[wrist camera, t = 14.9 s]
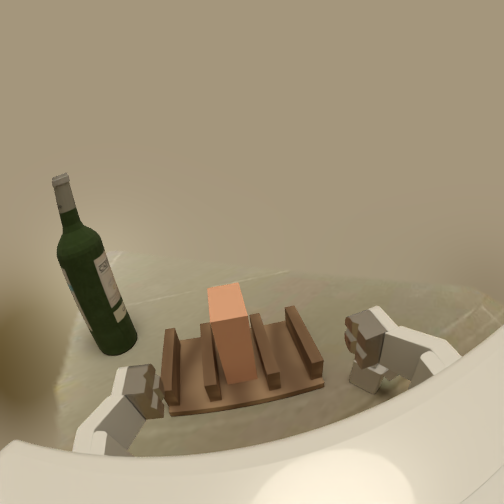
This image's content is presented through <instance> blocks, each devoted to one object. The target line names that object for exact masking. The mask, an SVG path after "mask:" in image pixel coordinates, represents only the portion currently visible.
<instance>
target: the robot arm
mask: <svg viewBox="0 0 504 504" xmlns="http://www.w3.org/2000/svg"><path fill="white" fill-rule="evenodd" d="M345 325H346V326H347V330H346V331H345V342H346V345H347V348H348V349H349V351H350V352H351V353H353V354H355V361H356V362H357V364H358V365H359V367H360V368H361V370H363V369H365V368H368V367H370V366H373V365H376V364H378V363H379V364H380V365H382V366H383V367H385V368H387V369H389V370H391V371H393V372H395V373H397V374H399V375H400V376H402V377H404V378H406V379H408V380H410V381H411V383H410V386H409V388H408V390H407V391H405V392H403V393H401V394H399V395H397V396H396V397H394V398H391V399H389V400H387V401H385V402H383V403H381V404H379V405H377V406H375V407H372V408H370V409H368V410H365V411H363V412H361V413H358V414H356V415H353V416H351V417H348V418H346V419H343V420H341V421H338V422H335V423H332V424H330V425H327V426H324V427H321V428H318V429H315V430H312V431H308V432H305V433H302V434H298V435H295V436H291V437H288V438H284V439H280V440H276V441H272V442H268V443H263V444H259V445H254V446H249V447H244V448H238V449H233V450H226V451H220V452H212V453H204V454H194V455H182V456H164V457H135V456H134V455H132V454H131V453H130V452H128V451H127V450H128V448H129V447H130V445H131V443H132V442H133V440H134V439H135V437H136V435H137V434H138V432H139V431H140V429H141V428H142V426H143V424H144V423H145V421H146V419H156V418H164V404H163V403H162V400H163V398H164V397H165V389H164V384H163V382H162V379H161V378H160V376H158V375H156V374H155V368H154V367H153V365H152V364H145V365H136V366H128V367H119V368H118V369H117V372H116V376H115V380H114V384H113V389H112V393H111V396H108V397H107V398H106V399H105V400H104V401H103V402H102V403H101V404H100V405H99V406H98V407H97V408H96V409H95V411H94V412H93V413H92V414H91V415H90V416H89V417H88V418H87V419H86V420H85V421H84V422H83V423H82V424H81V425H80V427H79V428H78V429H77V432H76V437H75V441H74V446H73V450H72V451H66V450H60V449H55V448H49V447H45V446H40V445H36V444H32V443H28V442H24V441H21V440H13V441H12V442H10V443H9V444H8V445H6V446H5V447H4V448H3V449H2V450H1V451H0V504H504V324H503V325H502V326H501V327H500V328H499V329H498V330H496V331H495V332H494V333H493V334H492V335H490V336H489V337H488V338H487V339H485V340H484V341H483V342H482V343H480V344H479V345H478V346H476V347H475V348H474V349H472V350H471V351H470V352H468V353H467V354H465V355H464V356H463V357H461V356H460V355H459V353H458V352H457V351H456V350H455V349H454V348H453V347H452V346H451V345H450V344H449V343H448V342H447V341H446V340H444V339H441V338H437V337H434V336H431V335H428V334H425V333H421V332H418V331H415V330H412V329H409V328H406V327H403V326H400V327H398V326H397V325H396V324H395V323H394V322H393V321H392V320H391V318H390V317H389V316H388V315H387V314H386V313H385V312H384V311H383V310H382V309H381V308H380V307H379V306H375V307H373V308H370V309H367V310H365V311H362V312H359V313H356V314H354V315H351V316H348V317H346V319H345Z"/></svg>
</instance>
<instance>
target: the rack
mask: <svg viewBox="0 0 504 504" xmlns="http://www.w3.org/2000/svg"><path fill="white" fill-rule="evenodd" d="M285 319H286V321H282V322H278V323H273V324H269V325H263V323H262V320H261V317H260V314H259V313H257V314H252V315H250V322H251V328H250V334H251V340H252V346H253V352H254V359H255V365H256V371H257V377H258V379H254V380H249V381H244V382H239V383H234V384H228V383H227V380H226V377H225V373H224V370H223V367H222V363H221V360H220V356H219V353H218V349H217V345H216V342H215V338H214V335H213V332H212V328H211V324H210V322H209V323H203V324H200V330H201V337H199V338H193V339H186V340H180V341H179V339H178V336H177V333H176V330H175V328H172V329H165V337H164V346H163V357H162V368H161V379H162V382H163V384H164V389H165V397H164V399H165V401H166V402H167V404H168V406H169V413H170V415H171V416H182V415H192V414H201V413H209V412H216V411H223V410H229V409H235V408H240V407H246V406H251V405H256V404H261V403H265V402H270V401H274V400H278V399H283V398H287V397H290V396H294V395H298V394H302V393H305V392H309V391H312V390H316V389H319V388H322V387H324V381H323V379H322V371H323V362H324V360H323V358H322V356H321V354H320V352H319V350H318V349H317V347H316V345H315V343H314V341H313V339H312V337H311V336H310V334H309V332H308V330H307V328H306V326H305V324H304V323H303V321H302V319H301V317H300V315H299V313H298V311H297V310H296V308H295V306H290V307H285Z"/></svg>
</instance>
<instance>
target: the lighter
mask: <svg viewBox="0 0 504 504" xmlns="http://www.w3.org/2000/svg"><path fill="white" fill-rule="evenodd" d="M398 375H399V374H397V373H395V372H393V371H391V370H389V369H387V368H385V367H383V366H382V365H380V364H379V363H378V364H376V365H373V366H370V367H368V368H365V369H363V370H361V368H360V367H359V365H358V364H357V362H356V361H355V360H354V363H353V367H352V371H351V376H350V380H349V382H350V383H352V384H354V385H356V386H358V387H360V388H362V389H364V390H366V391H368V392H369V393H371V394H375V393H376V391H377V390H378V389H379V387H380V385H381V382H382V380H383V377H385V378H386V379H387V380H389V381H390V380H392V379H394V378H395V377H397V376H398Z"/></svg>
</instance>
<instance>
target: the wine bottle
mask: <svg viewBox="0 0 504 504" xmlns="http://www.w3.org/2000/svg"><path fill="white" fill-rule="evenodd" d="M52 185H53V187H54V191H55V196H56V201H57V205H58V210H59V214H60V218H61V222H62V226H63V234H62V236H61V239H60V241H59V243H58V246H57V258H58V261H59V263H60V266H61V269H62V271H63V274H64V276H65V279H66V281H67V284H68V286H69V288H70V291H71V293H72V295H73V297H74V300H75V302H76V304H77V306H78V308H79V310H80V312H81V314H82V316H83V318H84V320H85V322H86V324H87V326H88V328H89V330H90V332H91V334H92V336H93V338H94V339H95V341H96V343H97V345H98V347H99V348H100V350H101V351H102V352H103V353H105V354H108V355H118V354H121V353H124V352H126V351H127V350H129V349H130V348H131V347H132V346H133V345H134V344H135V341H136V339H137V333H136V330H135V328H134V326H133V324H132V321H131V319H130V317H129V314H128V312H127V310H126V307H125V305H124V302H123V300H122V297H121V295H120V292H119V290H118V287H117V284H116V282H115V279H114V276H113V273H112V271H111V268H110V265H109V262H108V259H107V256H106V253H105V250H104V247H103V244H102V241H101V238H100V236H99V235H98V234H97V232H95V231H94V230H92V229H91V228H89V227H86V226H84V225H83V224H82V222H81V221H80V218H79V215H78V212H77V209H76V205H75V202H74V198H73V195H72V191H71V188H70V184H69V176H68V175H67V173H65V174H62V175H59V176H56V177H54V178H53V179H52Z"/></svg>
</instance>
